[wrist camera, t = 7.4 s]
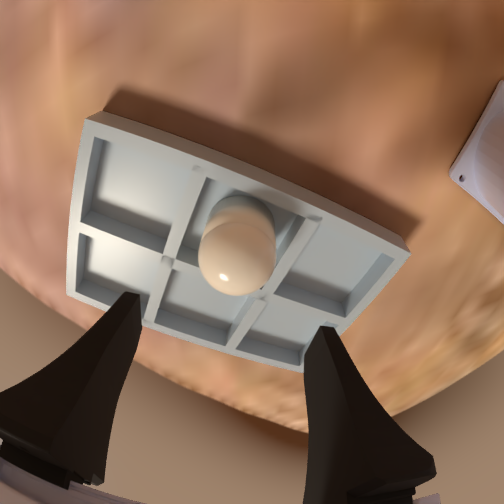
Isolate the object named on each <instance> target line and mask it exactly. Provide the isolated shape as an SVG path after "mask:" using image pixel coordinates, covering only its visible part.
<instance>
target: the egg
mask: <svg viewBox="0 0 504 504" xmlns="http://www.w3.org/2000/svg"><path fill="white" fill-rule="evenodd" d="M198 263H199V267H200V271H201V273H202V275H203V277H204V278H205V280H206V281H207V282H208V283H209V284H210V285H211V286H212V287H213V288H214V289H216V290H217V291H219V292H221V293H224V294H227V295H232V296H243V295H247V294H251V293H253V292H255V291H257V290H259V289H260V288H261V287H263V286H264V285H265V284H266V283H267V281H268V280H269V279H270V277H271V276H272V274H273V271H274V269H275V265H276V237H275V221H274V217H273V215H272V213H271V211H270V210H269V208H268V207H267V206H266V205H265V204H264V203H262V202H261V201H259V200H257V199H255V198H252V197H249V196H242V195H237V196H231V197H227V198H225V199H223V200H221V201H219V202H218V203H217V204H216V205H215V206H214V207H213V208H212V209H211V211H210V213H209V215H208V218H207V222H206V225H205V229H204V232H203V235H202V239H201V242H200V246H199V251H198Z"/></svg>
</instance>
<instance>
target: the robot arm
mask: <svg viewBox="0 0 504 504" xmlns="http://www.w3.org/2000/svg"><path fill="white" fill-rule="evenodd" d="M461 175H462V178H461V179H459V177H460V176H461ZM449 177H450V178H451V179H452V180H453V181H455V182H456V183H457V184H458V185H459V186H461V187H462V188H463V189H464V190H466V191H467V192H468V193H469V194H470V195H472V196H473V197H474V198H475V199H476V200H477V201H478V202H480V203H481V204H482V205H483V206H484V207H485V208H486V209H488V210H489V211H490V212H491V213H492V214H493V215H494V216H495V217H496V218H497V219H498V220H499V221H501V222H502V223H503V224H504V80H501V81H500V82H499V83H498V85H497V87H496V89H495V91H494V93H493V95H492V97H491V99H490V101H489V103H488V105H487V107H486V109H485V110H484V112H483V114H482V116H481V118H480V120H479V121H478V123H477V125H476V127H475V128H474V130H473V132H472V134H471V135H470V137H469V139H468V140H467V142H466V144H465V145H464V147H463V149H462V150H461V152H460V154H459V155H458V157H457V159H456V160H455V162H454V163H453V165H452V167H451V168H450V170H449ZM141 331H142V318H141V304H140V294H136V293H132V292H127V291H125V292H124V293H123V294H122V295H121V296H120V297H119V298H118V299H117V300H116V302H115V303H114V304H113V305H112V306H111V307H110V308H109V309H108V311H107V312H106V313H105V314H104V315H103V316H102V317H101V318H100V319H99V320H98V321H97V322H96V323H95V324H94V325H93V326H92V327H91V328H90V329H89V330H88V331H87V332H86V333H85V334H84V335H83V336H82V337H81V338H80V339H79V340H78V341H77V342H76V343H75V344H74V345H72V346H71V347H70V348H69V349H68V350H66V351H65V352H64V353H63V354H62V355H60V356H59V357H58V358H56V359H55V360H54V361H52V362H51V363H50V364H48V365H47V366H46V367H44V368H43V369H41V370H40V371H38V372H37V373H35V374H33V375H32V376H30V377H29V378H27V379H25V380H24V381H22V382H20V383H19V384H17V385H15V386H13V387H10V388H8V389H6V390H4V391H2V392H0V438H1V439H2V440H3V442H2V445H0V504H145V503H141V502H137V501H133V500H129V499H125V498H121V497H118V496H114V495H111V494H108V493H104V492H102V491H98V490H96V489H92V488H90V487H87V486H84V485H83V483H85V484H87V485H91V484H93V485H96V486H98V485H100V484H102V483H104V477H105V468H106V459H107V452H108V446H109V439H110V434H111V429H112V424H113V418H114V414H115V409H116V406H117V402H118V399H119V395H120V392H121V389H122V387H123V384H124V381H125V379H126V376H127V373H128V371H129V368H130V366H131V363H132V360H133V358H134V355H135V352H136V350H137V346H138V342H139V338H140V334H141ZM304 386H305V395H306V405H307V415H308V427H309V444H308V463H307V475H306V486H305V492H304V499H303V504H441V503H440V497H439V494H438V493H436V494H433V495H429V496H426V497H422V498H419V499H416V500H413V499H412V495H415V493H416V491H415V487H416V486H418V485H420V484H423V483H425V482H427V481H429V480H430V479H432V478H434V477H435V476H436V474H437V473H436V468H435V463H434V459H433V456H432V455H431V454H430V453H429V452H427V451H426V450H425V449H424V448H422V447H421V446H420V445H419V444H417V443H416V442H415V441H414V440H413V439H412V438H411V437H410V436H408V435H407V434H406V433H405V432H404V431H403V430H402V429H401V428H400V426H399V425H398V424H397V423H396V422H395V421H394V420H393V419H392V418H391V417H390V415H389V414H388V413H387V412H386V411H385V409H384V408H383V407H382V406H381V404H380V403H379V402H378V400H377V399H376V398H375V396H374V395H373V394H372V392H371V391H370V389H369V388H368V386H367V384H366V383H365V381H364V380H363V378H362V377H361V375H360V373H359V371H358V370H357V368H356V366H355V365H354V363H353V361H352V359H351V358H350V356H349V354H348V352H347V350H346V348H345V347H344V345H343V343H342V341H341V339H340V337H339V335H338V333H337V332H336V330H335V328H334V327H329V326H321V325H320V326H319V328H318V330H317V332H316V334H315V336H314V338H313V340H312V341H311V343H310V345H309V347H308V349H307V351H306V352H305V354H304Z"/></svg>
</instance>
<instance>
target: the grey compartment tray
mask: <svg viewBox="0 0 504 504" xmlns="http://www.w3.org/2000/svg"><path fill="white" fill-rule="evenodd" d="M237 195H242V196H249V197H252V198H255V199H257V200H259V201H261V202H262V203H264V204H265V205H266V206H267V207H268V208H269V210H270V211H271V213H272V215H273V217H274V221H275V237H276V265H275V269H274V271H273V274H272V276H271V277H270V279H269V280H268V281H267V283H266V284H265V285H264V286H263V287H261V288H260V289H259V290H257V291H255V292H253V293H251V294H247V295H243V296H232V295H227V294H224V293H221V292H219V291H217V290H216V289H214V288H213V287H212V286H211V285H210V284H209V283H208V282H207V281H206V280H205V278H204V277H203V275H202V273H201V271H200V267H199V263H198V251H199V246H200V242H201V239H202V235H203V232H204V229H205V225H206V222H207V218H208V215H209V213H210V211H211V209H212V208H213V207H214V206H215V205H216V204H217V203H218V202H219V201H221V200H223V199H225V198H227V197H231V196H237ZM410 255H411V252H410V251H409V249H408V247H407V246H406V244H405V242H404V241H403V239H402V237H401V236H400V235H398V234H396V233H394V232H392V231H390V230H388V229H386V228H385V227H383V226H381V225H379V224H377V223H375V222H373V221H371V220H369V219H367V218H365V217H363V216H361V215H359V214H357V213H355V212H353V211H351V210H349V209H347V208H345V207H343V206H341V205H339V204H337V203H335V202H333V201H331V200H329V199H327V198H325V197H322V196H320V195H318V194H316V193H314V192H312V191H310V190H308V189H305V188H303V187H301V186H299V185H297V184H294V183H292V182H290V181H288V180H285V179H283V178H281V177H279V176H276V175H274V174H272V173H270V172H267V171H265V170H263V169H260V168H258V167H255V166H253V165H251V164H248V163H246V162H243V161H241V160H239V159H236V158H234V157H231V156H229V155H226V154H224V153H221V152H219V151H216V150H214V149H211V148H208V147H206V146H203V145H201V144H198V143H195V142H193V141H190V140H187V139H185V138H182V137H179V136H176V135H174V134H171V133H168V132H165V131H163V130H160V129H157V128H154V127H151V126H148V125H145V124H142V123H139V122H136V121H133V120H130V119H127V118H124V117H121V116H118V115H115V114H111V113H108V112H105V111H100V112H98V113H96V114H94V115H91V116H89V117H87V118H85V121H84V126H83V131H82V135H81V140H80V146H79V151H78V157H77V163H76V169H75V176H74V183H73V190H72V199H71V208H70V218H69V230H68V246H67V274H66V295H68V296H70V297H73V298H75V299H77V300H80V301H82V302H84V303H87V304H89V305H91V306H94V307H96V308H99V309H101V310H103V311H106V312H107V311H108V309H109V308H110V307H111V306H112V305H113V304H114V303H115V302H116V300H117V299H118V298H119V297H120V296H121V295H122V294H123V293H124V292H125V291H127V292H132V293H136V294H140V304H141V318H142V326H145V327H148V328H151V329H153V330H156V331H159V332H162V333H165V334H168V335H170V336H173V337H176V338H179V339H182V340H185V341H188V342H192V343H195V344H198V345H201V346H204V347H207V348H211V349H214V350H217V351H221V352H224V353H227V354H231V355H234V356H238V357H241V358H245V359H249V360H252V361H256V362H260V363H264V364H267V365H271V366H275V367H279V368H283V369H288V370H292V371H296V372H300V373H303V372H304V354H305V352H306V351H307V349H308V347H309V345H310V343H311V341H312V340H313V338H314V336H315V334H316V332H317V330H318V328H319V326H320V325H321V326H329V327H334V328H335V330H336V332H337V333H338V335H339V336H340V335H341V334H342V333H343V332H344V331H345V330H346V329H347V328H348V327H349V326H350V325H351V324H352V323H353V322H354V321H355V319H356V318H357V317H358V316H359V315H360V314H361V313H362V312H363V311H364V310H365V308H366V307H367V306H368V305H369V304H370V303H371V302H372V301H373V299H374V298H375V297H376V296H377V295H378V294H379V293H380V291H381V290H382V289H383V288H384V287H385V286H386V284H387V283H388V282H389V281H390V280H391V278H392V277H393V276H394V275H395V274H396V272H397V271H398V270H399V269H400V267H401V266H402V265H403V264H404V263H405V261H406V260H407V259H408V258H409V256H410Z"/></svg>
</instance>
